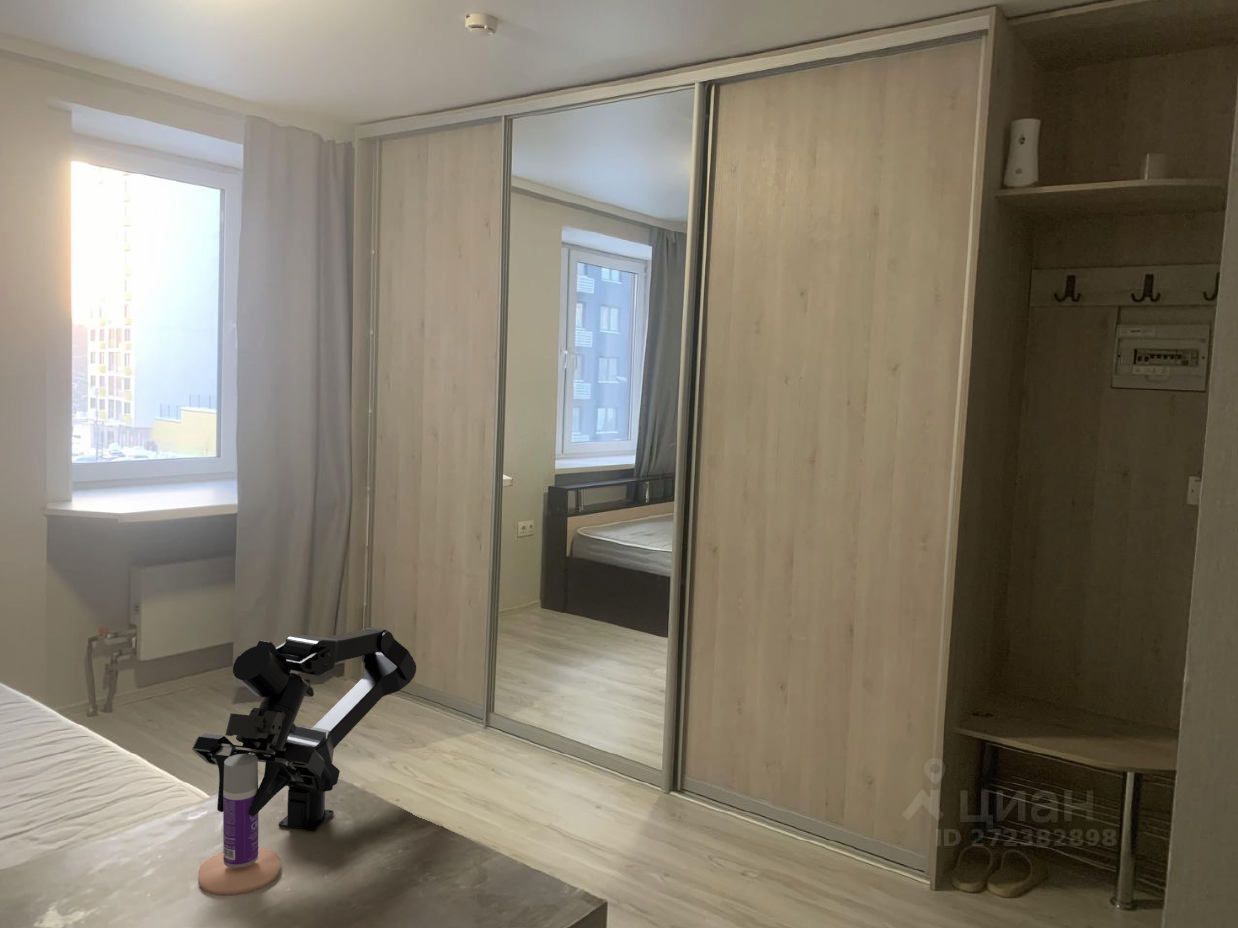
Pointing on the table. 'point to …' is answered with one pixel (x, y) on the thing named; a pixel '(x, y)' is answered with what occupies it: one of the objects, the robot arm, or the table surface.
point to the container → (240, 811)
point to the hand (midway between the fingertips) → (235, 813)
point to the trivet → (238, 874)
